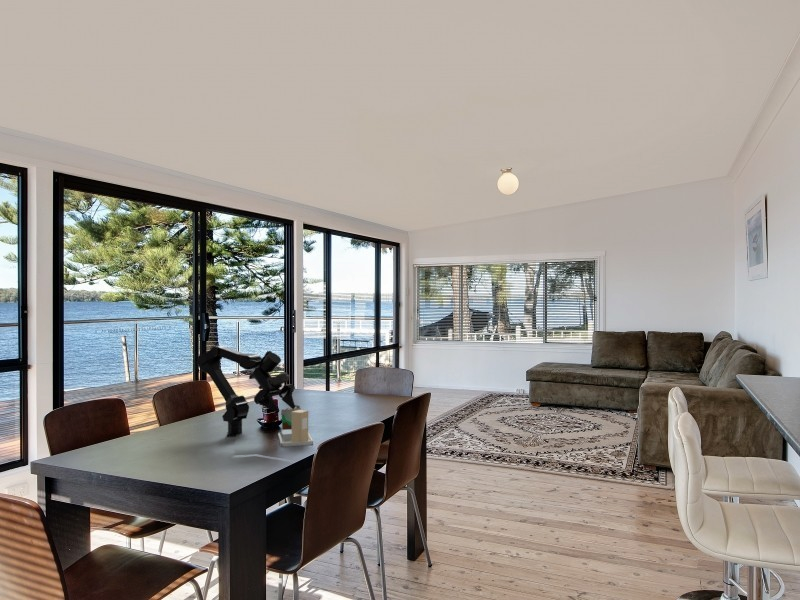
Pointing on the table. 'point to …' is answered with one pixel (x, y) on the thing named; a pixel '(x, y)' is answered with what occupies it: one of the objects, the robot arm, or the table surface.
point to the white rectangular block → (287, 435)
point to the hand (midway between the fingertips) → (286, 410)
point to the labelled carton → (299, 426)
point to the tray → (290, 443)
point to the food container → (288, 417)
